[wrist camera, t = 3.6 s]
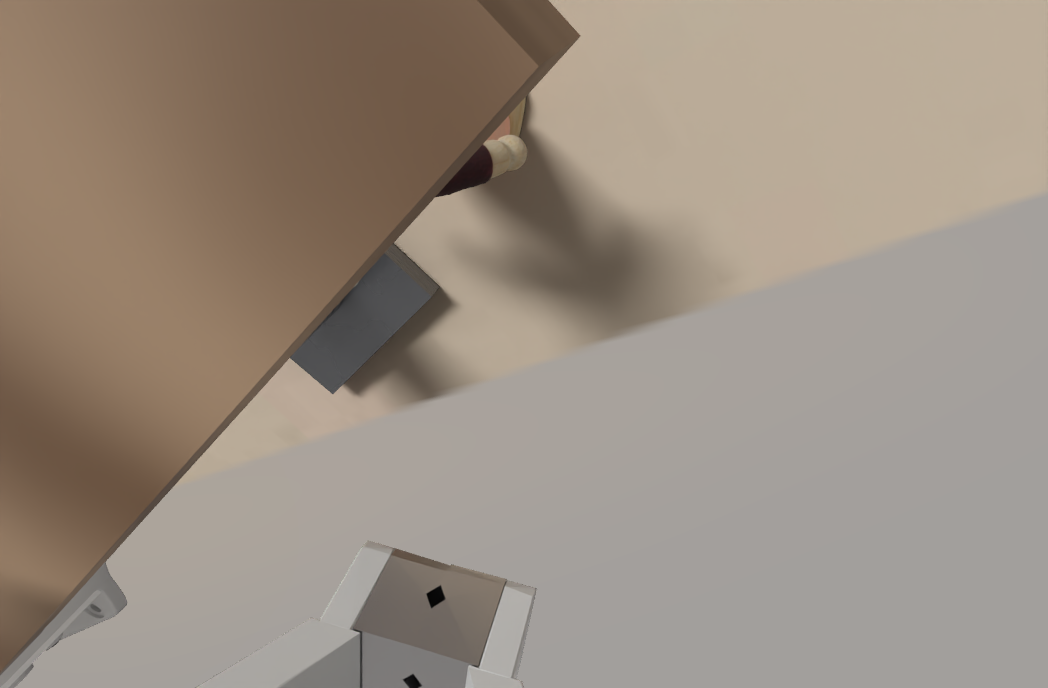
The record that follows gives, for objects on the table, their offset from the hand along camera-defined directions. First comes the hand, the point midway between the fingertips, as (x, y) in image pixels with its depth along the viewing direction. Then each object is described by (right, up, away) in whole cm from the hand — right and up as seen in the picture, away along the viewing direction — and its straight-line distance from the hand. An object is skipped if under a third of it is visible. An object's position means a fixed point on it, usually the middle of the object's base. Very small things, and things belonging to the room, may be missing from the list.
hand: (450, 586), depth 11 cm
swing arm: (-6, +3, 0) cm, 7 cm away
